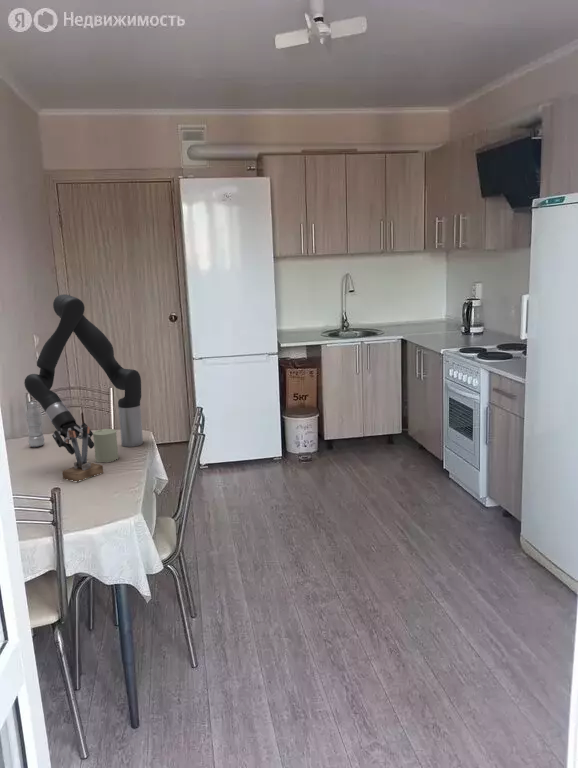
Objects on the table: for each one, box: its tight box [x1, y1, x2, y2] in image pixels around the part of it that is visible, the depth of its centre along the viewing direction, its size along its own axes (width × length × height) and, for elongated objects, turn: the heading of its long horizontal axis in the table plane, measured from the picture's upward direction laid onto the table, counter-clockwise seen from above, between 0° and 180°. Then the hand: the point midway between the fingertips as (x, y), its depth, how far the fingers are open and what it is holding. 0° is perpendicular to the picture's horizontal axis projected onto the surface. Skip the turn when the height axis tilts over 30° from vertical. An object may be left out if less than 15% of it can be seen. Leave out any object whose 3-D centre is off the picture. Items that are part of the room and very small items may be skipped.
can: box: [92, 428, 120, 463], centre depth 252 cm, size 9×9×12 cm
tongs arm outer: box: [68, 430, 83, 468], centre depth 230 cm, size 1×3×15 cm, turn 57°
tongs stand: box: [61, 461, 104, 482], centre depth 233 cm, size 12×8×5 cm, turn 147°
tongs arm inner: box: [81, 425, 91, 464], centre depth 233 cm, size 1×3×15 cm, turn 57°
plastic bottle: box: [25, 400, 45, 448], centre depth 272 cm, size 6×7×20 cm
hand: (83, 450), depth 231 cm, fingers open, 8 cm apart
